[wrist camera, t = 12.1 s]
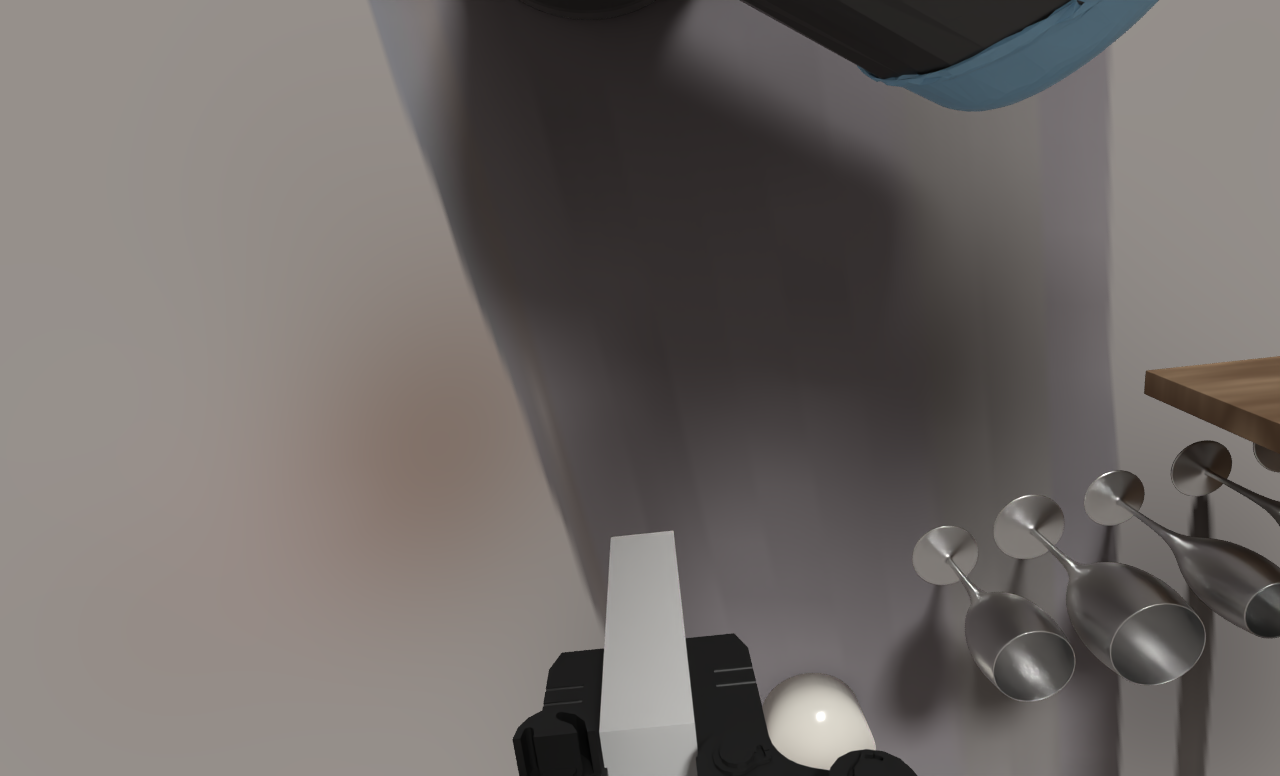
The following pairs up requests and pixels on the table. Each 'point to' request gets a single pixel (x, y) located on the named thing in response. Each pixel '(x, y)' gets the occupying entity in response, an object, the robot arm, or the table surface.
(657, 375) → the table surface
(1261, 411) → the walnut shelf
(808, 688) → the cream squat rounded piece
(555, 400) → the table surface
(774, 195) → the table surface
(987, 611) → the goblet set
